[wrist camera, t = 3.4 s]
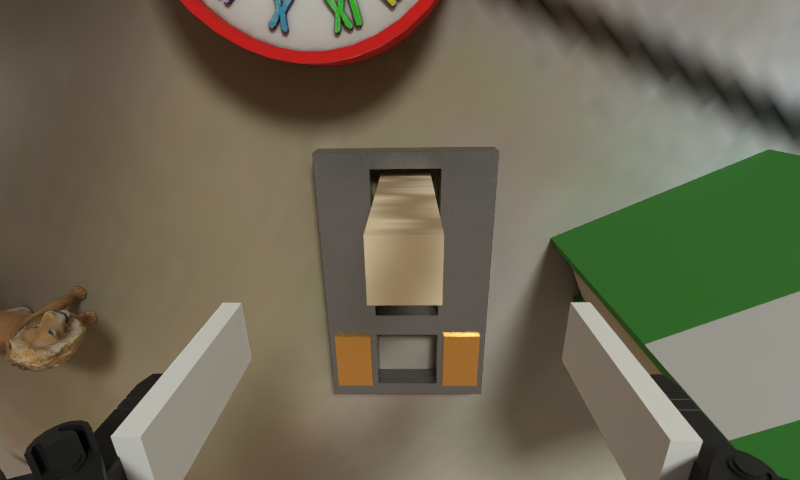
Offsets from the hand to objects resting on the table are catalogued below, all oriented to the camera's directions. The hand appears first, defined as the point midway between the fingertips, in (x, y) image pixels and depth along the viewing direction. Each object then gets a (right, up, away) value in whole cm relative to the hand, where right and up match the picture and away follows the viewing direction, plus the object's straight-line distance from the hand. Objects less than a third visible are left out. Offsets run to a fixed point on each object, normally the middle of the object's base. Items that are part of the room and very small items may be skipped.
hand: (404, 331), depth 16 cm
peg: (0, +7, +17) cm, 19 cm away
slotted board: (0, 0, +20) cm, 20 cm away
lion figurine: (-33, -2, +22) cm, 39 cm away
